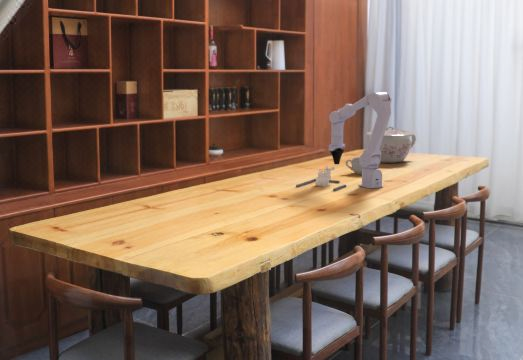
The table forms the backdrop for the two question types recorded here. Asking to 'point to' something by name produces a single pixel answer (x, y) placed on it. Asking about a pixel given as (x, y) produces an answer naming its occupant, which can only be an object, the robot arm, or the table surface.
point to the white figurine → (324, 177)
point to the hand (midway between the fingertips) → (336, 164)
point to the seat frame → (329, 181)
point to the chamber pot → (395, 145)
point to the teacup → (355, 165)
